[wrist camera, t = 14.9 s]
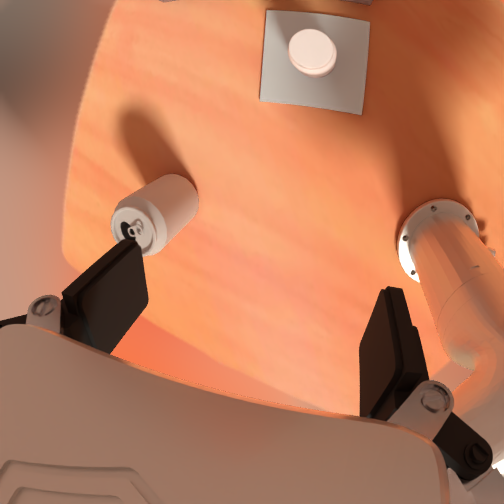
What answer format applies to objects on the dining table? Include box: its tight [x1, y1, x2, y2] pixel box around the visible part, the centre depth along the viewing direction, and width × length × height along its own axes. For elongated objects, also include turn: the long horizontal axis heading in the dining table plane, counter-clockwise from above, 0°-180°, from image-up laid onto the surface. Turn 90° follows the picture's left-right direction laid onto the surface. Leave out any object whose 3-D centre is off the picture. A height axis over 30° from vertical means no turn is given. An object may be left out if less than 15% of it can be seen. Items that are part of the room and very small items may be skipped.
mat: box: [260, 10, 370, 115], centre depth 29 cm, size 12×12×1 cm
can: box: [111, 174, 199, 257], centre depth 37 cm, size 8×8×12 cm
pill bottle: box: [288, 29, 337, 78], centre depth 25 cm, size 5×5×8 cm
